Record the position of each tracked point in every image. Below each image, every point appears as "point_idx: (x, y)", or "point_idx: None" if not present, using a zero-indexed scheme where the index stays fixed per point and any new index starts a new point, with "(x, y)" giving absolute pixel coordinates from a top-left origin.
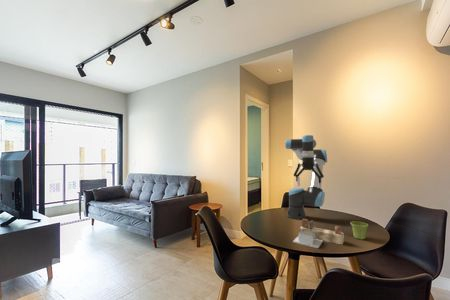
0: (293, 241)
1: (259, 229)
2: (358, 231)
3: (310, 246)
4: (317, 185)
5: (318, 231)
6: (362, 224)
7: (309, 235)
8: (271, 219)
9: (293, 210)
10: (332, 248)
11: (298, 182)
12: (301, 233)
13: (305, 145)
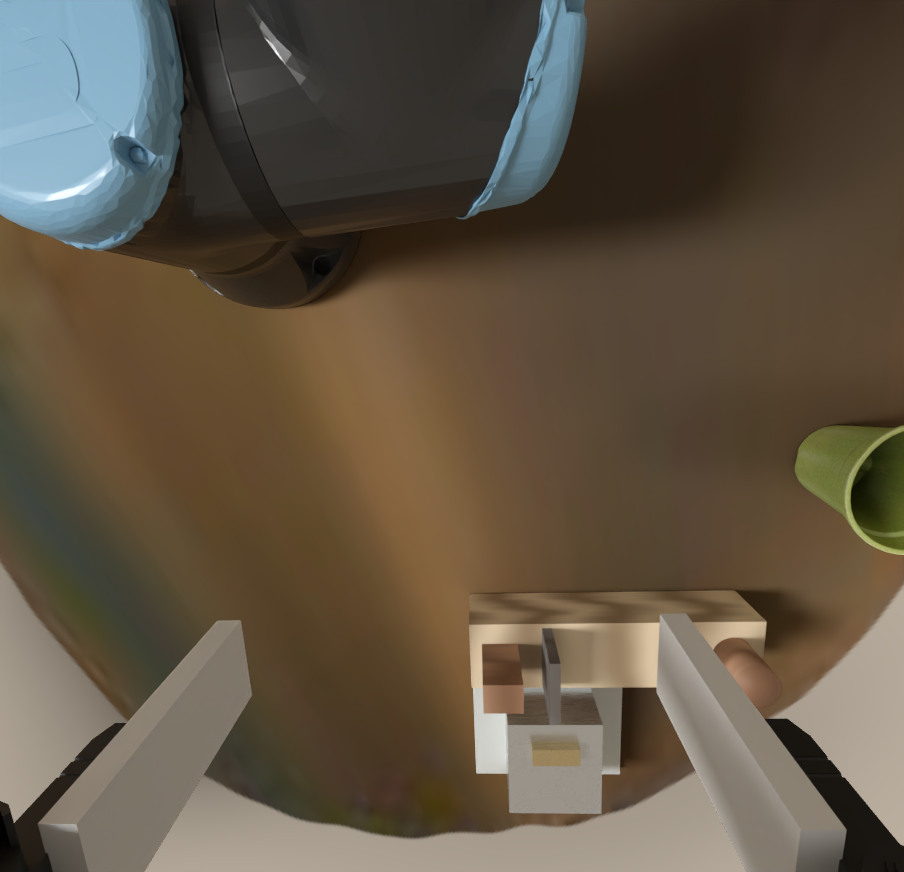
0: (479, 771)
1: None
2: (867, 521)
3: None
4: (681, 737)
5: (604, 687)
6: None
7: (580, 812)
8: (146, 443)
9: (239, 285)
10: None
11: (205, 770)
12: (527, 809)
13: None
